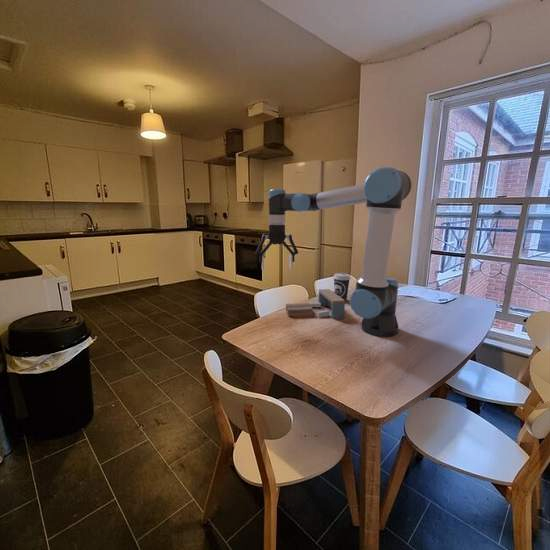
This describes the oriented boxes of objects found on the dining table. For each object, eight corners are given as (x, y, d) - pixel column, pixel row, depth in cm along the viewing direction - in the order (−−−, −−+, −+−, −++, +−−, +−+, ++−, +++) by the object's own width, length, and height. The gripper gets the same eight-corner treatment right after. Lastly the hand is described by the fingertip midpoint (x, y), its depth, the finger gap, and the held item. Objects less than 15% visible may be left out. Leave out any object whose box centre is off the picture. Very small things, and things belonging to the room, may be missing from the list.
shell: (312, 316, 142) (312, 309, 142) (288, 317, 141) (288, 309, 141) (308, 310, 151) (309, 303, 150) (285, 311, 150) (285, 303, 149)
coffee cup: (351, 302, 162) (352, 276, 159) (333, 302, 162) (334, 276, 159) (347, 297, 171) (348, 272, 168) (330, 297, 171) (331, 272, 168)
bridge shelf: (343, 317, 140) (344, 300, 138) (319, 319, 138) (320, 301, 136) (328, 304, 160) (329, 289, 158) (307, 305, 157) (307, 290, 155)
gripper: (301, 223, 141) (300, 266, 145) (249, 223, 136) (250, 268, 141) (305, 224, 133) (304, 269, 138) (250, 224, 129) (251, 271, 134)
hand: (276, 269), depth 140 cm, fingers open, 13 cm apart
